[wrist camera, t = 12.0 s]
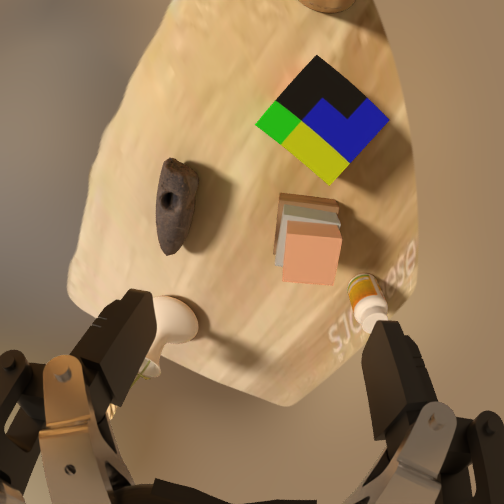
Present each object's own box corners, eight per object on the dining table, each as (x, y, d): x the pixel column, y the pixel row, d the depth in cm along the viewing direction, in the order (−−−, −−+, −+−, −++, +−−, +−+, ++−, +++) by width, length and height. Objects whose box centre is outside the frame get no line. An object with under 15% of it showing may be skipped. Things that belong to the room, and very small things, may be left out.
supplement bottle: (341, 292, 46) (350, 331, 38) (357, 267, 44) (371, 304, 35) (366, 302, 47) (378, 341, 38) (383, 279, 44) (399, 315, 36)
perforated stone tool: (191, 249, 46) (176, 271, 40) (161, 241, 46) (144, 261, 40) (208, 160, 39) (194, 169, 33) (175, 152, 39) (155, 160, 33)
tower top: (283, 204, 37) (283, 214, 33) (335, 212, 37) (340, 224, 33) (276, 251, 40) (274, 265, 37) (324, 258, 40) (327, 273, 36)
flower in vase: (183, 285, 49) (123, 400, 27) (210, 331, 54) (174, 445, 32) (130, 298, 53) (65, 394, 30) (158, 340, 57) (112, 436, 35)
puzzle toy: (365, 118, 33) (389, 119, 25) (319, 168, 38) (329, 186, 29) (309, 69, 31) (316, 54, 23) (262, 122, 36) (254, 124, 27)
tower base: (279, 192, 40) (279, 200, 37) (334, 198, 40) (339, 207, 36) (274, 242, 44) (273, 254, 40) (325, 248, 43) (328, 260, 40)
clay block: (287, 220, 34) (287, 233, 30) (336, 224, 33) (342, 238, 30) (283, 264, 36) (282, 281, 33) (329, 268, 36) (333, 285, 32)
